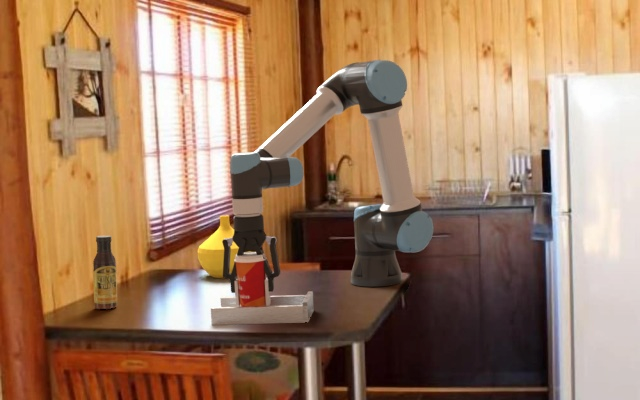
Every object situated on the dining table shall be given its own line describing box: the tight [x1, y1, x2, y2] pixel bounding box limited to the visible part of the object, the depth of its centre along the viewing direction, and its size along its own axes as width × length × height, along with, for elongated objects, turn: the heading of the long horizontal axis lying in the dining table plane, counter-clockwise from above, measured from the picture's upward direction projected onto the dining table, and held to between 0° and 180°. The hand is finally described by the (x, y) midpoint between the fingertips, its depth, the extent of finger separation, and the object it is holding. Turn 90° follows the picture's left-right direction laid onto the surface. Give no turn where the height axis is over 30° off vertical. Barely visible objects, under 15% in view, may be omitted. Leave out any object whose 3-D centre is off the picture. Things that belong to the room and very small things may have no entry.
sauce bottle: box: [92, 235, 118, 310], centre depth 257 cm, size 6×6×20 cm
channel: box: [210, 290, 315, 326], centre depth 237 cm, size 24×13×5 cm, turn 85°
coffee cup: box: [234, 252, 268, 307], centre depth 237 cm, size 8×8×15 cm
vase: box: [197, 214, 255, 279], centre depth 299 cm, size 18×18×19 cm
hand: (253, 304), depth 237 cm, fingers closed on coffee cup, 7 cm apart
